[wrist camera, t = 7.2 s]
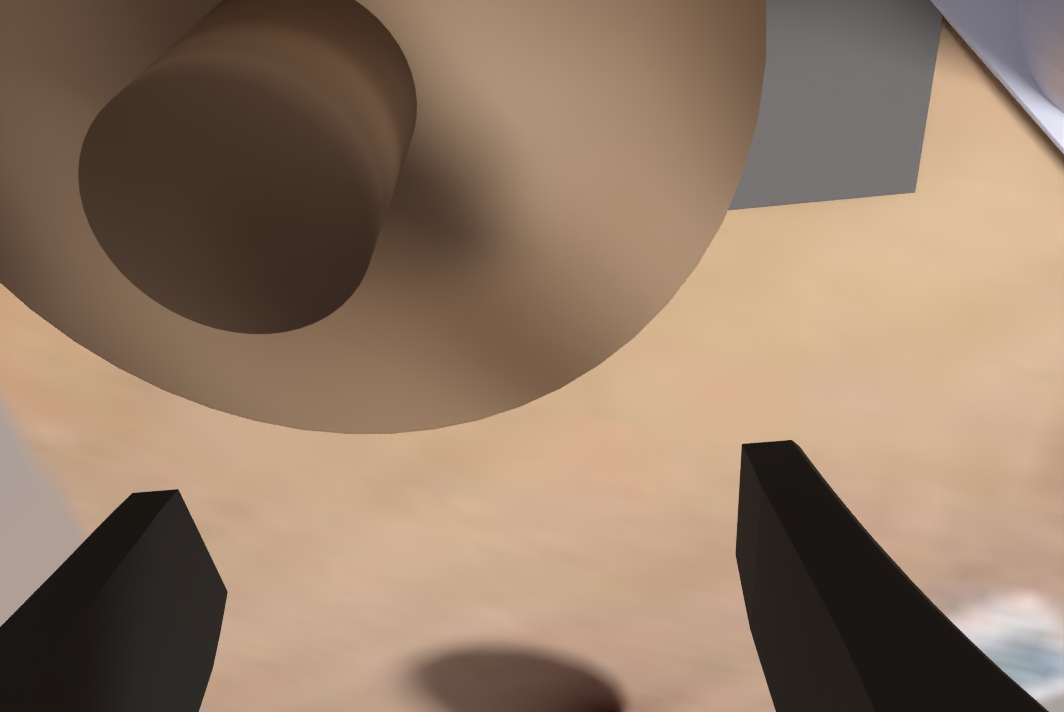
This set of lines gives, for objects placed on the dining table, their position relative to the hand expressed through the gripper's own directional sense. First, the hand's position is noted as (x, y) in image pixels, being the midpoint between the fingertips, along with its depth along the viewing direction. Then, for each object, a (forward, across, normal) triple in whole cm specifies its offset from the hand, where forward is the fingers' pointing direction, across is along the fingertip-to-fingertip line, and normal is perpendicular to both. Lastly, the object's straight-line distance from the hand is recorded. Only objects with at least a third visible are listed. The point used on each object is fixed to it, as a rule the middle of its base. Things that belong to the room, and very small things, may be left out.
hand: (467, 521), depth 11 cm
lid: (+5, +2, -4) cm, 7 cm away
